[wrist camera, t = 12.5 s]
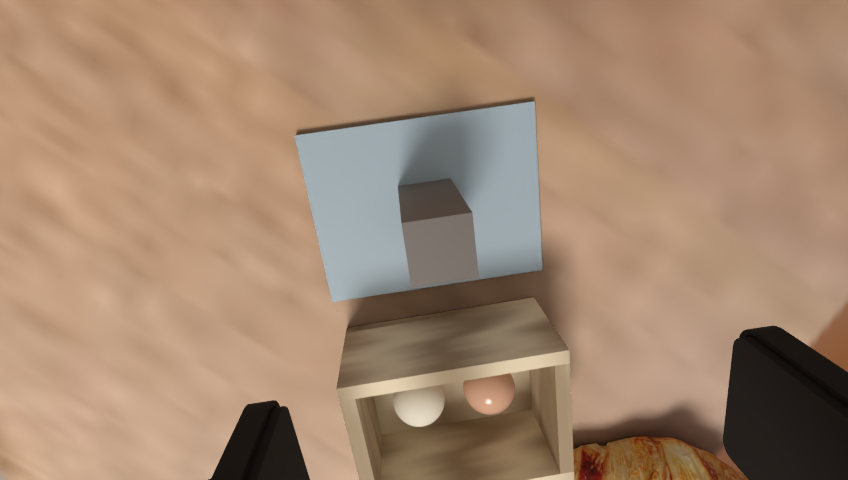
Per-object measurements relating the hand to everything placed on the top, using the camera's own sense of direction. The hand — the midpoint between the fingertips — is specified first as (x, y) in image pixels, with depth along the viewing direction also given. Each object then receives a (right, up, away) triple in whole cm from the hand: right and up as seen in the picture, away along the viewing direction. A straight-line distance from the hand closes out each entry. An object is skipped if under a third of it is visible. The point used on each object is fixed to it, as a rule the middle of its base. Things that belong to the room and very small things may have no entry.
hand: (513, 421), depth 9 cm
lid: (-2, +6, +17) cm, 18 cm away
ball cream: (-2, -5, +20) cm, 21 cm away
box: (0, -5, +21) cm, 21 cm away
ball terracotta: (+2, -5, +20) cm, 21 cm away
